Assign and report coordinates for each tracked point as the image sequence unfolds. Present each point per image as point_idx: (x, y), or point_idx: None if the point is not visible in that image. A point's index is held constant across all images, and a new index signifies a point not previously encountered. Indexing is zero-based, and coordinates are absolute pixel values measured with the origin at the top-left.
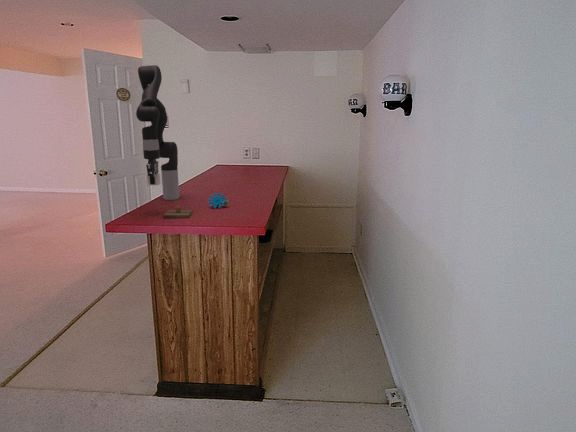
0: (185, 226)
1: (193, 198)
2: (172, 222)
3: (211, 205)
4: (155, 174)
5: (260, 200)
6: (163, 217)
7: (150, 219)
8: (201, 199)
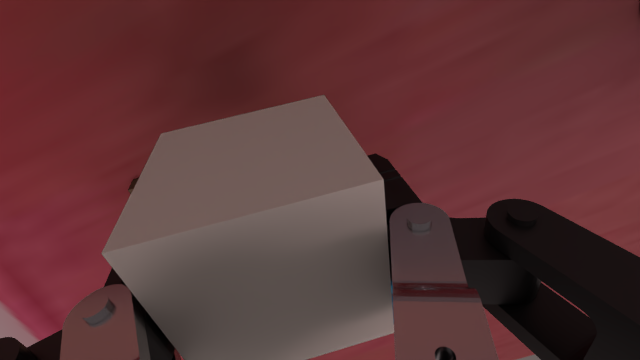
0: (37, 329)
1: (632, 117)
2: (73, 257)
3: (391, 289)
4: (287, 330)
5: (499, 345)
6: (131, 183)
7: (71, 116)
8: (588, 167)
